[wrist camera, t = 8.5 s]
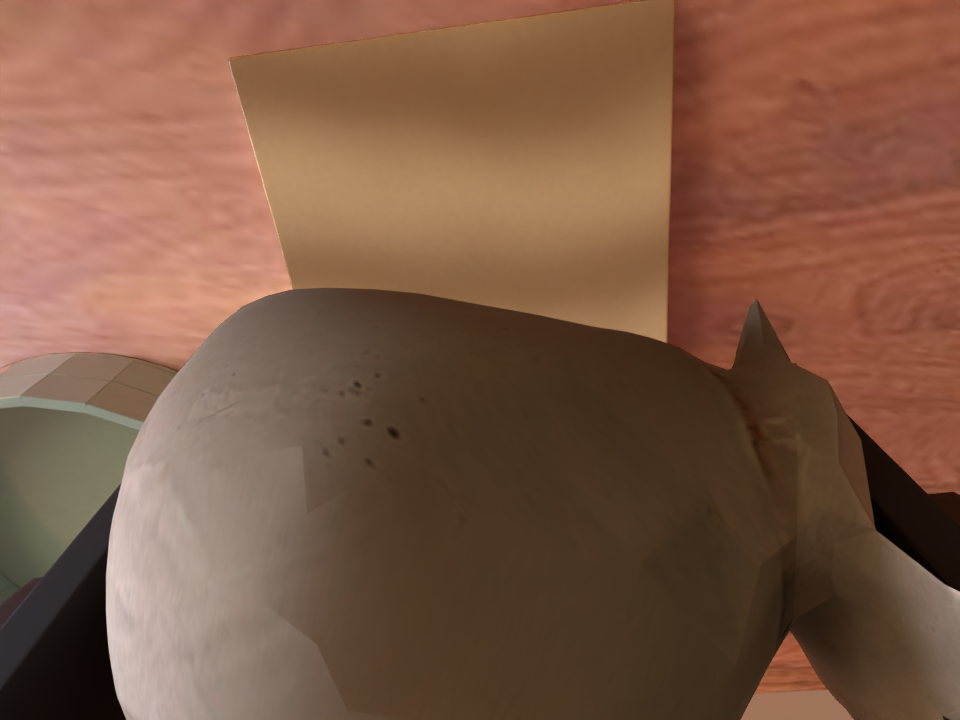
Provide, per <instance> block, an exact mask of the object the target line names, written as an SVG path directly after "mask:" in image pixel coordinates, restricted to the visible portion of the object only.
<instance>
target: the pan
mask: <svg viewBox="0 0 960 720" xmlns="http://www.w3.org/2000/svg"><path fill="white" fill-rule="evenodd" d="M177 373H178V372H177V371H174V370H172V369H169V368H167V367H164V366H160V365H157V364H153V363H150V362H146V361H143V360H139V359H135V358H129V357H123V356H118V355H112V354H101V353H86V352H75V353H55V354H48V355H43V356H37V357H32V358H27V359H24V360H21V361H18V362H15V363H12V364H9V365H6V366H4V367H2V368H0V605H1V604H2V602H4V601H5V600H6V599H8V598H9V597H10V596H11V595H13V594H14V593H15V592H17V591H18V590H19V589H20V588H22V587H23V586H24V585H25V584H27V583H28V582H29V581H31V580H32V579H33V578H37V577H43V576H44V575H45V574H46V572H47V571H48V570H49V569H50V568H51V566H52V565H53V564H54V563H55V562H56V560H57V559H58V558H59V557H60V556H61V554H62V553H63V552H64V551H65V550H66V548H67V547H68V546H69V545H70V544H71V542H72V541H73V540H74V539H75V538H76V536H77V535H78V534H79V533H80V532H81V530H82V529H83V528H84V527H85V526H86V524H87V523H88V522H89V521H90V520H91V518H92V517H93V516H94V515H95V514H96V512H97V511H98V510H99V509H100V508H101V506H102V505H103V504H104V503H105V502H106V500H107V499H108V498H109V497H110V496H111V494H112V493H113V492H114V491H115V490H116V488H117V487H118V486H119V485H120V484H121V482H122V479H123V474H124V470H125V466H126V461H127V457H128V455H129V453H130V451H131V448H132V446H133V444H134V442H135V440H136V438H137V436H138V434H139V432H140V429H141V427H142V425H143V423H144V422H145V420H146V418H147V416H148V415H149V413H150V411H151V409H152V408H153V406H154V404H155V403H156V401H157V399H158V397H159V396H160V395H161V393H162V392H163V391H164V390H165V388H166V387H167V386H168V384H169V383H170V382H171V381H172V379H173V378H174V377H175V375H176V374H177Z"/></svg>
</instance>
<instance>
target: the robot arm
mask: <svg viewBox="0 0 960 720" xmlns="http://www.w3.org/2000/svg"><path fill="white" fill-rule="evenodd" d="M794 364H796V363H794ZM796 365H797V364H796ZM847 416H848V415H847ZM848 418H849V420H850V421H851V423H852V425H853V427H854V429H855V430H856V432H857V434H858V436H859V437H860V439H861V443H862V449H863V455H864V462H865V468H866V474H867V480H868V486H869V492H870V498H871V505H872V511H873V517H874V523H875V529H876V531H878V532H879V533H880V534H881V535H883V536H884V537H885V538H886V539H888V540H889V541H890V542H892V543H893V544H894V545H895V546H897V547H898V548H899V549H900V550H902V551H903V552H904V553H906V554H907V555H908V556H909V557H911V558H912V559H913V560H914V561H916V562H917V563H918V564H920V565H921V566H922V567H923V568H925V569H926V570H927V571H928V572H930V573H931V574H932V575H933V576H935V577H936V578H937V579H939V580H940V581H941V582H942V583H944V584H945V585H947V586H949V587H951V588H953V589H955V590H957V591H959V592H960V495H958V494H957V493H955V492H948V493H937V494H927V493H926V492H925V491H924V490H923V489H922V488H921V487H920V486H919V485H918V484H917V483H916V482H915V481H914V480H913V479H912V478H911V477H910V476H909V475H908V474H907V473H906V472H905V471H904V470H903V469H902V468H901V467H900V466H899V465H898V464H897V463H896V462H895V461H894V460H892V459H891V458H890V457H889V456H888V455H887V454H886V453H885V452H884V451H883V450H882V449H881V448H880V447H879V446H878V445H877V444H876V443H875V442H874V441H873V440H872V439H871V438H870V437H869V436H868V435H867V434H866V433H865V432H864V431H863V430H862V429H861V428H860V427H859V426H858V425H857V424H856V423H855V422H854V421H853V420H852V419H851V418H850V417H849V416H848ZM121 483H122V482H121ZM120 487H121V484H120V485H119V486H118V487H117V488H116V490H115V491H114V492H113V493H112V494H111V496H110V497H109V498H108V499H107V500H106V502H105V503H104V504H103V505H102V506H101V508H100V509H99V510H98V511H97V512H96V514H95V515H94V516H93V517H92V518H91V520H90V521H89V522H88V523H87V524H86V526H85V527H84V528H83V529H82V530H81V532H80V533H79V534H78V535H77V536H76V538H75V539H74V540H73V541H72V542H71V544H70V545H69V546H68V547H67V548H66V550H65V551H64V552H63V553H62V554H61V556H60V557H59V558H58V559H57V560H56V562H55V563H54V564H53V565H52V566H51V568H50V569H49V570H48V571H47V572H46V574H45V575H44V576H43V577H37V578H33V579H32V580H31V581H29V582H28V583H27V584H25V585H24V586H23V587H22V588H20V589H19V590H18V591H17V592H15V593H14V594H13V595H11V596H10V597H9V598H8V599H6V600H5V601H4V602H2V604H1V605H0V720H126V718H125V715H124V713H123V710H122V708H121V705H120V703H119V700H118V698H117V694H116V690H115V685H114V679H113V673H112V668H111V662H110V654H109V647H108V635H107V620H106V571H107V560H108V548H109V536H110V530H111V525H112V519H113V515H114V511H115V507H116V503H117V499H118V495H119V491H120ZM943 719H944V720H950V719H948V718H946V717H944V716H943Z"/></svg>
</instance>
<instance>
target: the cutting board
mask: <svg viewBox="0 0 960 720" xmlns="http://www.w3.org/2000/svg"><path fill="white" fill-rule="evenodd" d="M674 35H675V0H640V1H633V2H626V3H618V4H611V5H604V6H597V7H590V8H583V9H576V10H568V11H561V12H554V13H547V14H540V15H533V16H526V17H518V18H511V19H504V20H497V21H490V22H483V23H475V24H468V25H461V26H454V27H447V28H440V29H433V30H425V31H418V32H411V33H404V34H397V35H390V36H383V37H375V38H368V39H361V40H354V41H347V42H340V43H332V44H325V45H318V46H311V47H304V48H297V49H290V50H282V51H275V52H268V53H261V54H254V55H247V56H239V57H232V58H229V59H228V62H229V66H230V69H231V73H232V76H233V80H234V83H235V87H236V90H237V94H238V98H239V101H240V105H241V108H242V112H243V115H244V119H245V122H246V126H247V129H248V133H249V136H250V140H251V144H252V147H253V151H254V154H255V158H256V161H257V165H258V168H259V172H260V175H261V179H262V183H263V186H264V190H265V193H266V197H267V200H268V204H269V207H270V211H271V214H272V218H273V222H274V225H275V229H276V232H277V236H278V239H279V243H280V246H281V250H282V253H283V257H284V261H285V264H286V268H287V271H288V275H289V278H290V282H291V285H292V289H308V288H356V289H378V290H389V291H399V292H410V293H420V294H426V295H431V296H436V297H442V298H447V299H452V300H458V301H463V302H468V303H474V304H480V305H485V306H491V307H497V308H502V309H508V310H514V311H519V312H525V313H531V314H536V315H541V316H546V317H550V318H555V319H560V320H565V321H569V322H574V323H579V324H584V325H588V326H593V327H599V328H606V329H612V330H619V331H626V332H630V333H634V334H638V335H642V336H646V337H650V338H653V339H656V340H659V341H662V342H665V343H667V325H668V283H669V242H670V201H671V159H672V118H673V77H674Z"/></svg>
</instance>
